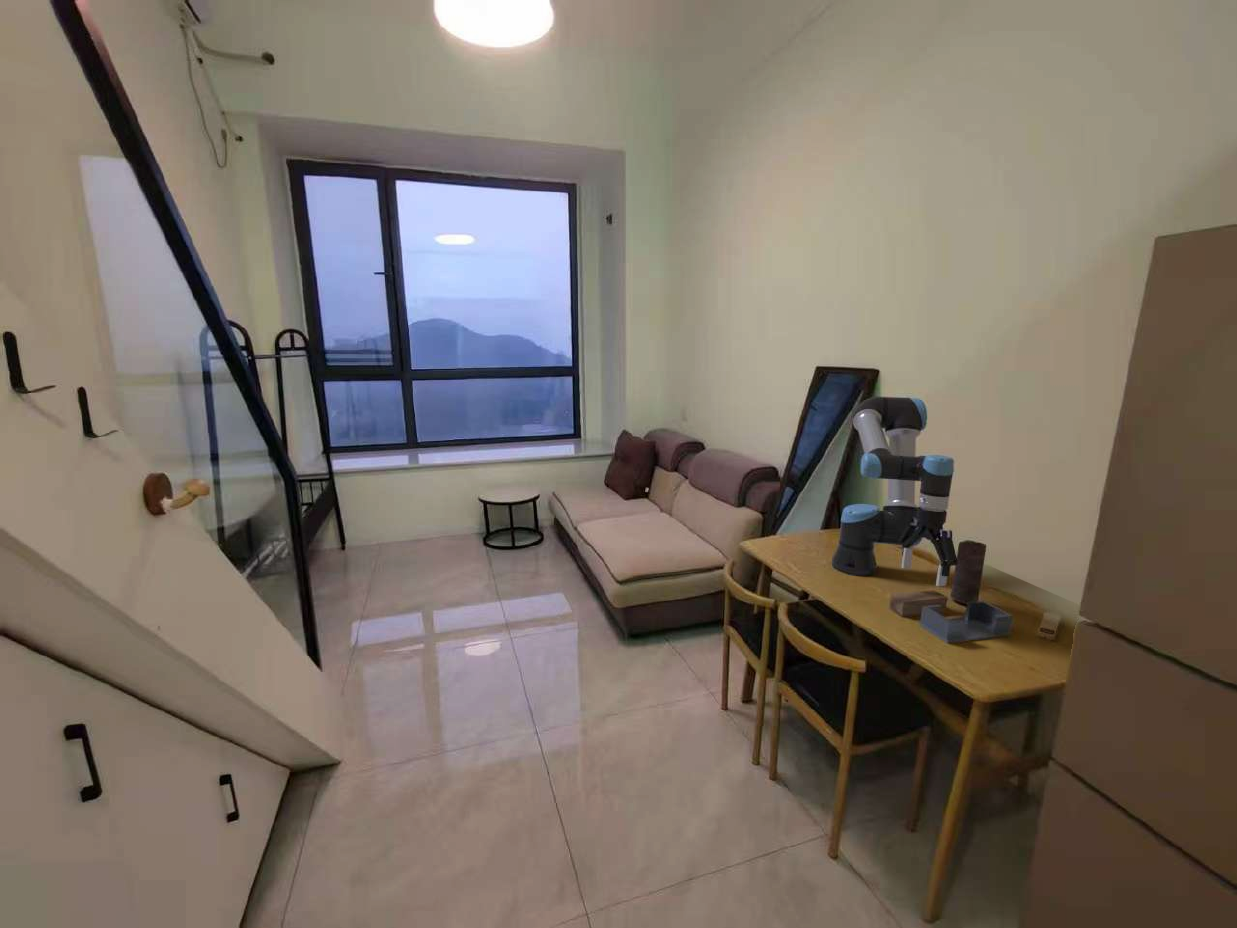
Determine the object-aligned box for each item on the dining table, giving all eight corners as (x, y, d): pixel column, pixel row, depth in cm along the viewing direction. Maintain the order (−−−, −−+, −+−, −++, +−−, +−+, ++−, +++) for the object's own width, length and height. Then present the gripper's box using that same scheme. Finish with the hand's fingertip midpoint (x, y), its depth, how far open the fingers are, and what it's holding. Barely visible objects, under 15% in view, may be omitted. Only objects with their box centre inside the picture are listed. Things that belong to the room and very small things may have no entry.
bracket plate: (919, 624, 153) (921, 605, 152) (979, 618, 158) (982, 599, 156) (947, 643, 143) (950, 622, 142) (1010, 635, 148) (1013, 616, 147)
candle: (963, 608, 164) (974, 547, 160) (943, 598, 171) (953, 539, 166) (983, 606, 166) (993, 545, 162) (962, 595, 173) (972, 537, 169)
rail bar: (889, 609, 162) (891, 594, 161) (931, 604, 166) (934, 590, 165) (901, 617, 158) (903, 602, 157) (945, 612, 162) (947, 597, 161)
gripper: (891, 497, 166) (882, 561, 170) (957, 521, 143) (945, 594, 147) (911, 497, 168) (902, 560, 172) (980, 520, 144) (968, 592, 148)
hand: (922, 576), depth 159 cm, fingers open, 13 cm apart
